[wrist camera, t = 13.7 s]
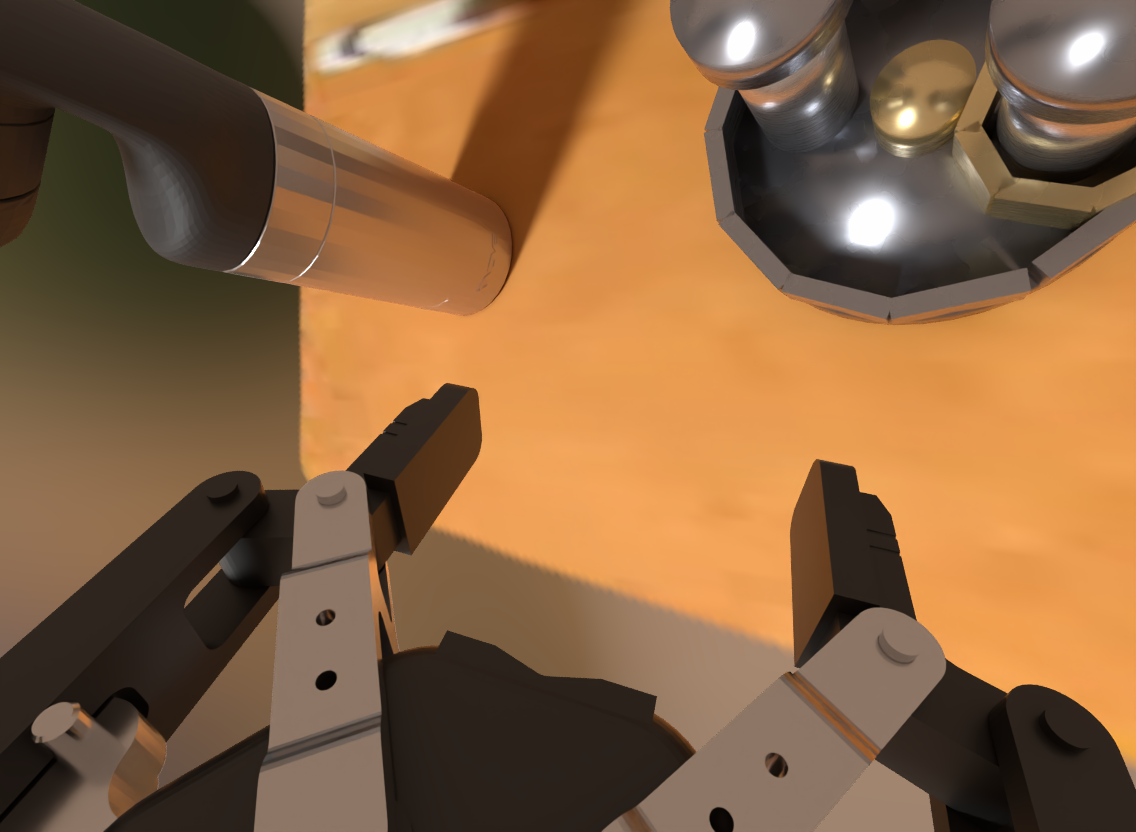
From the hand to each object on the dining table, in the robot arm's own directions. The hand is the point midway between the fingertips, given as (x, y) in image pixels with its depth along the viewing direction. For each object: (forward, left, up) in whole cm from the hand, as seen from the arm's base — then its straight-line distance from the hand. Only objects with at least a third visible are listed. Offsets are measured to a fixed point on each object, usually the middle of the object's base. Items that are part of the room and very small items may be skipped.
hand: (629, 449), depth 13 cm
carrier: (0, +15, -19) cm, 24 cm away
